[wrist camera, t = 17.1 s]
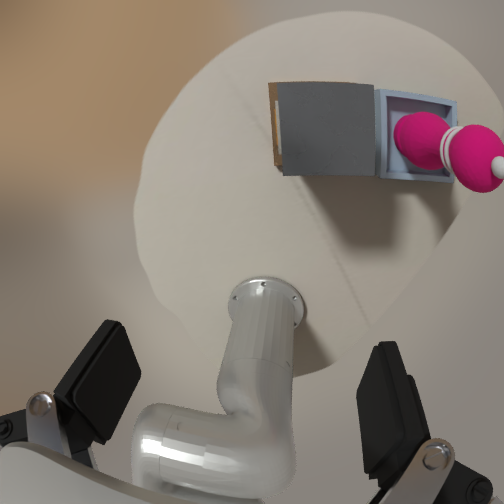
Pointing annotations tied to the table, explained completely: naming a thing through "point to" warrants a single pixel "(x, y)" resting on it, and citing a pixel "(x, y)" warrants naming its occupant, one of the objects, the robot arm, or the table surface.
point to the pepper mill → (452, 149)
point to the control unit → (323, 128)
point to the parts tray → (386, 116)
